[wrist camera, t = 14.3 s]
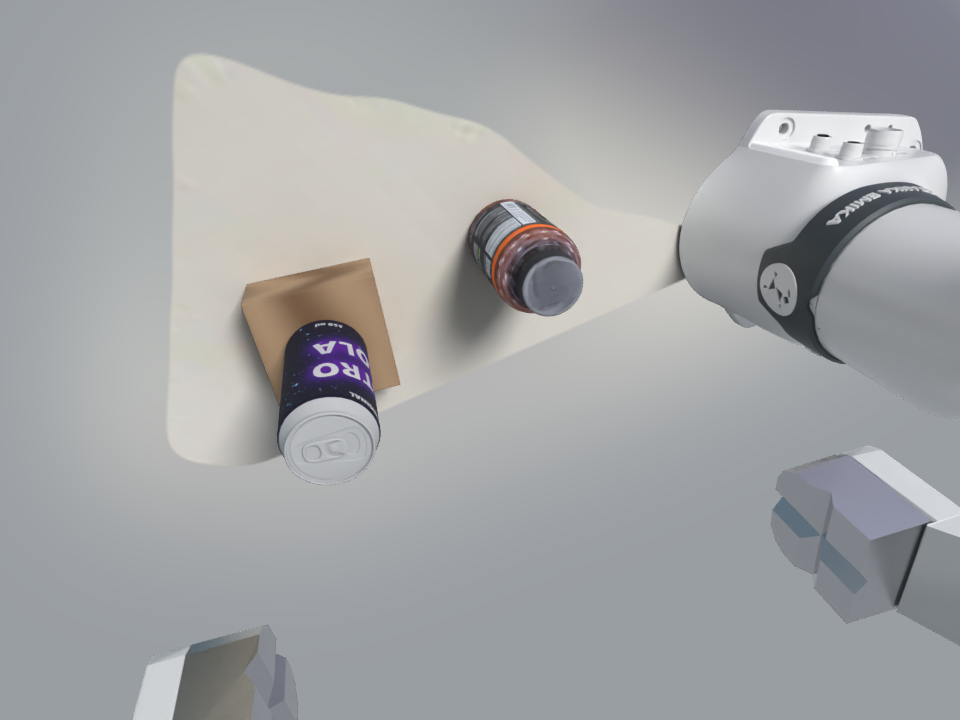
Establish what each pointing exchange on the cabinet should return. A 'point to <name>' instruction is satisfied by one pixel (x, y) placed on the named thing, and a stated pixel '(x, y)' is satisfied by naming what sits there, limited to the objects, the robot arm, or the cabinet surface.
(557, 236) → the supplement bottle
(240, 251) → the cabinet surface
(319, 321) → the beverage can
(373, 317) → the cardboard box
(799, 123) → the robot arm
